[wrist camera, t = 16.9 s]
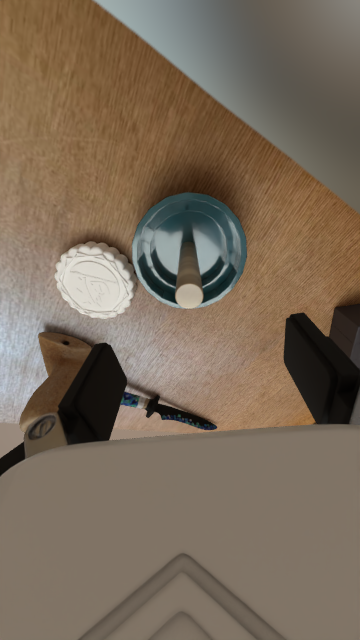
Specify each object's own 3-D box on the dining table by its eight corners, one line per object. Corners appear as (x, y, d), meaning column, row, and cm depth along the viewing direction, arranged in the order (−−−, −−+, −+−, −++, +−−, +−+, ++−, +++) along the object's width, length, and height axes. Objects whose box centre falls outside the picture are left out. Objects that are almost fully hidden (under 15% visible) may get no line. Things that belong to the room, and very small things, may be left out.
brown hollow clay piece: (106, 388, 49) (78, 458, 36) (54, 380, 48) (6, 449, 35) (106, 336, 41) (71, 402, 28) (43, 326, 40) (-23, 390, 28)
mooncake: (64, 301, 37) (53, 311, 34) (63, 231, 31) (49, 235, 28) (131, 317, 39) (127, 328, 36) (143, 253, 33) (139, 259, 30)
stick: (178, 243, 31) (172, 286, 17) (194, 240, 31) (201, 280, 17) (181, 259, 32) (178, 311, 19) (197, 256, 32) (205, 306, 18)
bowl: (127, 206, 29) (115, 209, 24) (232, 180, 27) (243, 178, 22) (155, 298, 37) (150, 316, 32) (239, 283, 35) (248, 299, 30)
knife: (103, 384, 46) (98, 402, 43) (110, 376, 45) (105, 394, 41) (208, 422, 58) (211, 439, 55) (216, 416, 57) (219, 433, 53)
